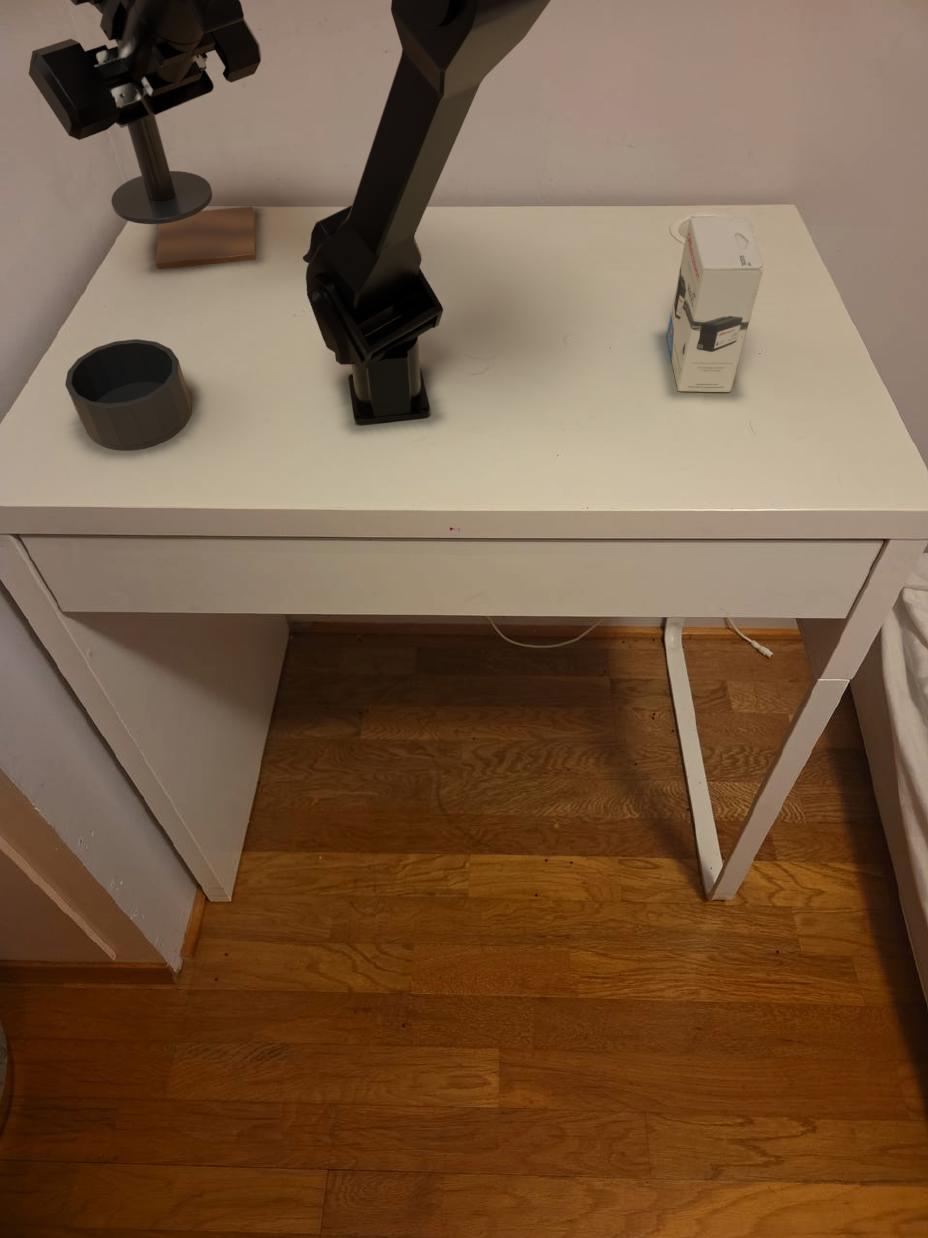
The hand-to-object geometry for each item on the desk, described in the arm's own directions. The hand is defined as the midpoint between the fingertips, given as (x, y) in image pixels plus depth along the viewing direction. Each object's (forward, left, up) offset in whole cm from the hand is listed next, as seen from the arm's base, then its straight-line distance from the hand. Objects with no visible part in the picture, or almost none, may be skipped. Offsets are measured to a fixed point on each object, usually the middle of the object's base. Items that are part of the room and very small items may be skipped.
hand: (133, 116), depth 81 cm
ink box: (-26, -47, -14) cm, 56 cm away
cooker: (-24, +2, -14) cm, 28 cm away
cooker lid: (-1, -1, -7) cm, 7 cm away
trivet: (+4, -3, -14) cm, 15 cm away
